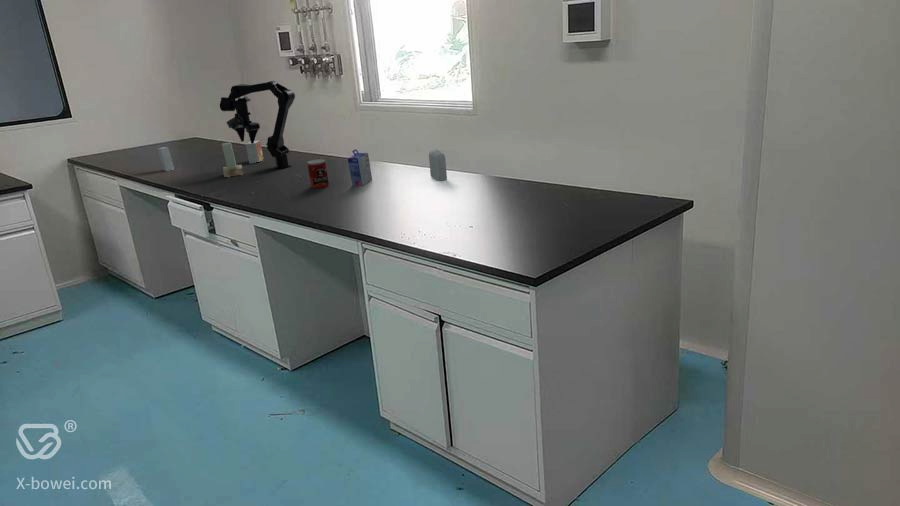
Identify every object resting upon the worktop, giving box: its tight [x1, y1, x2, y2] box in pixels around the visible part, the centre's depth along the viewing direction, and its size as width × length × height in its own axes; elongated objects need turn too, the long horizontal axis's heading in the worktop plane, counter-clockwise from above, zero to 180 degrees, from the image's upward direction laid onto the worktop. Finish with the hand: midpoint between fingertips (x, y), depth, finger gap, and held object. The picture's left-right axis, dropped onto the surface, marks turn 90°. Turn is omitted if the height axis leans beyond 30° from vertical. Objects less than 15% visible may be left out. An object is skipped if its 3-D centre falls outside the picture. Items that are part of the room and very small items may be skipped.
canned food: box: [307, 158, 329, 189], centre depth 272 cm, size 8×8×11 cm
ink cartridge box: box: [347, 149, 373, 187], centre depth 270 cm, size 10×6×14 cm, turn 161°
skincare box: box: [157, 146, 175, 172], centre depth 334 cm, size 6×4×12 cm
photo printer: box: [428, 149, 448, 182], centre depth 266 cm, size 10×4×12 cm, turn 25°
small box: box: [245, 140, 264, 164], centre depth 336 cm, size 8×6×10 cm
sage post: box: [221, 141, 237, 169], centre depth 307 cm, size 4×5×12 cm
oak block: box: [222, 164, 244, 178], centre depth 310 cm, size 9×9×4 cm
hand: (247, 142), depth 317 cm, fingers open, 9 cm apart
